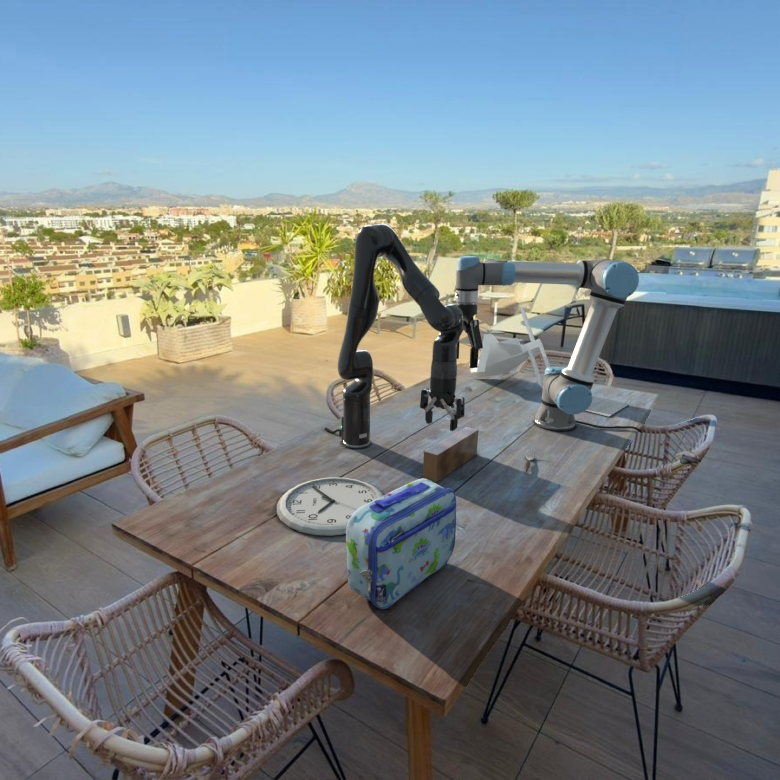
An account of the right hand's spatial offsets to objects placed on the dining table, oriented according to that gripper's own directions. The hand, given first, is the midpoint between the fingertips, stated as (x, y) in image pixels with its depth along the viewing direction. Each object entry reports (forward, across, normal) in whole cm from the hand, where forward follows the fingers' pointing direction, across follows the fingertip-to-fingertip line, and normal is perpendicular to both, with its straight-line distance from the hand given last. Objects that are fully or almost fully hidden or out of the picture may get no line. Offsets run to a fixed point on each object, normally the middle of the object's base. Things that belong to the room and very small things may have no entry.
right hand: (464, 363), depth 185 cm
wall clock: (+26, +34, -58) cm, 72 cm away
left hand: (+11, +28, -22) cm, 37 cm away
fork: (+28, +29, +9) cm, 41 cm away
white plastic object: (+28, -50, +53) cm, 78 cm away
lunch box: (+27, +70, -52) cm, 91 cm away
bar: (+27, +22, -16) cm, 38 cm away
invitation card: (+29, -9, +73) cm, 79 cm away
